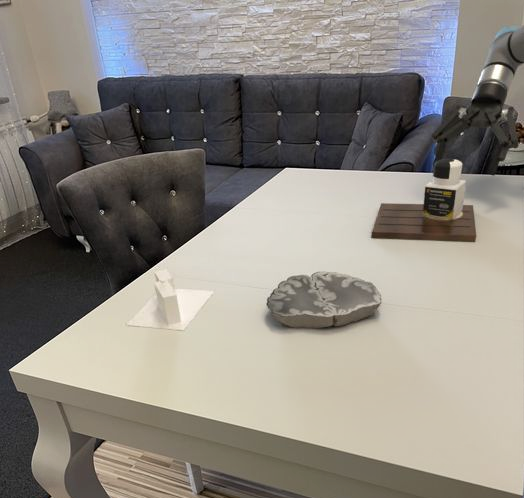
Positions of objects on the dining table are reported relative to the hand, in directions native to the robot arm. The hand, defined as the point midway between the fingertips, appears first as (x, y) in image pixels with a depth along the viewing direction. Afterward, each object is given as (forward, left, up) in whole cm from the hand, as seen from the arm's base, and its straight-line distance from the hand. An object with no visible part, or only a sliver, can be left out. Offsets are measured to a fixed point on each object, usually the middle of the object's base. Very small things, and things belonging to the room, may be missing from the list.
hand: (462, 169), depth 128 cm
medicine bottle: (+4, +9, -8) cm, 13 cm away
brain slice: (+24, +56, -9) cm, 62 cm away
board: (+8, +12, -9) cm, 17 cm away
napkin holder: (+51, +60, -9) cm, 79 cm away
